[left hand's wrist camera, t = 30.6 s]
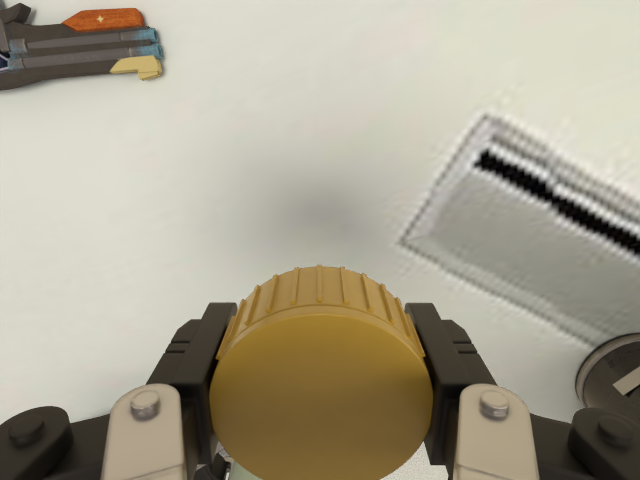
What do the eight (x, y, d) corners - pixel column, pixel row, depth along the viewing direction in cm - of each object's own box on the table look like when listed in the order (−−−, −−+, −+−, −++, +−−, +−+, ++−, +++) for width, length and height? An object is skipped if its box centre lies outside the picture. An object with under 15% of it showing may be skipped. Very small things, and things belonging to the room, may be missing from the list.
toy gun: (-201, -75, 24) (-140, 103, 26) (126, -102, 25) (158, 74, 27) (-152, -53, 27) (-101, 107, 29) (143, -78, 27) (170, 80, 30)
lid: (435, 393, 12) (462, 463, 10) (270, 440, 12) (259, 516, 10) (383, 235, 10) (400, 277, 8) (195, 299, 11) (162, 353, 8)
